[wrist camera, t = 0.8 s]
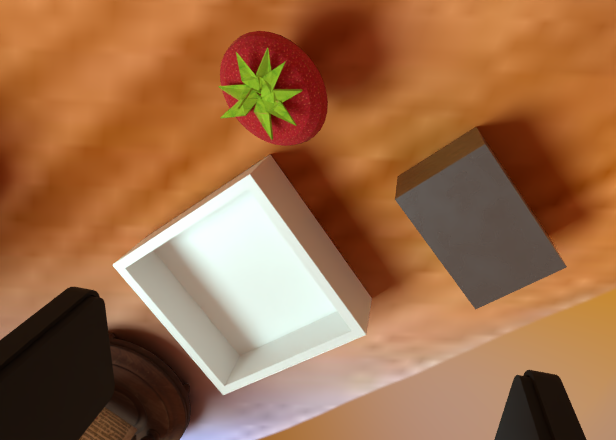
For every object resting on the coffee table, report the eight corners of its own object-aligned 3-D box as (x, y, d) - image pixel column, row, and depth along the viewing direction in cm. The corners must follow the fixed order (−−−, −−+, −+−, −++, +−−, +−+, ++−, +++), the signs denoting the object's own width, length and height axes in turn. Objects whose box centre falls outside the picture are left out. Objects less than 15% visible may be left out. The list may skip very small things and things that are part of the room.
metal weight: (475, 125, 33) (485, 143, 28) (547, 234, 35) (566, 267, 30) (397, 175, 35) (395, 199, 31) (468, 273, 37) (475, 309, 33)
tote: (270, 154, 36) (249, 174, 32) (371, 298, 40) (366, 334, 35) (144, 238, 42) (112, 264, 38) (242, 357, 46) (223, 395, 41)
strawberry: (300, 143, 36) (261, 188, 27) (232, 66, 34) (167, 85, 25) (359, 92, 33) (337, 122, 24) (289, 6, 32) (238, 5, 23)
